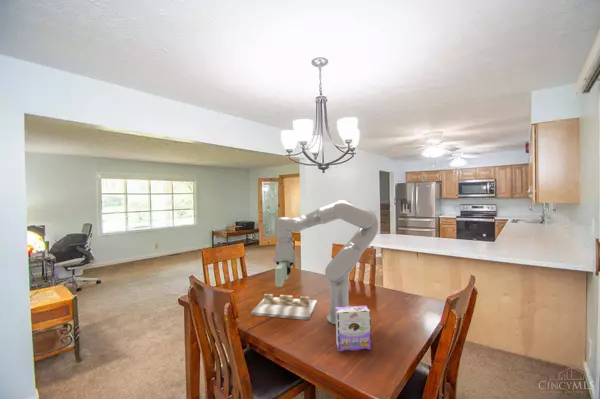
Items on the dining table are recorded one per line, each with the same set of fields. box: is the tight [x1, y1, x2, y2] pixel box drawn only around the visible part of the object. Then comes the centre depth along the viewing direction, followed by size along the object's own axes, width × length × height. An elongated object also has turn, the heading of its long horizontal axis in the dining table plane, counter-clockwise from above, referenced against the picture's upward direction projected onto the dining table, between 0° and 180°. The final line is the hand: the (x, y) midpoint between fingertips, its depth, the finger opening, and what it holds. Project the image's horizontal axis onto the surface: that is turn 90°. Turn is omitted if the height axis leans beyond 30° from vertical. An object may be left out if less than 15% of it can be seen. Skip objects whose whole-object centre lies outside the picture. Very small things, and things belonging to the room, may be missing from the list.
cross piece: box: [274, 262, 290, 288], centre depth 143 cm, size 16×3×9 cm, turn 168°
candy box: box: [335, 304, 372, 352], centre depth 115 cm, size 14×6×16 cm, turn 92°
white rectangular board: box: [250, 293, 318, 321], centre depth 155 cm, size 32×22×6 cm
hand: (285, 273), depth 148 cm, fingers closed on cross piece, 3 cm apart
